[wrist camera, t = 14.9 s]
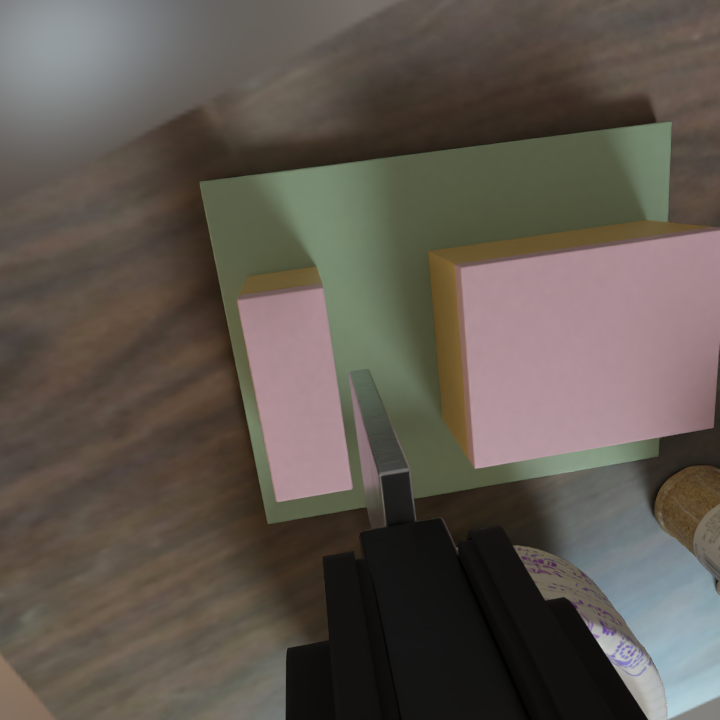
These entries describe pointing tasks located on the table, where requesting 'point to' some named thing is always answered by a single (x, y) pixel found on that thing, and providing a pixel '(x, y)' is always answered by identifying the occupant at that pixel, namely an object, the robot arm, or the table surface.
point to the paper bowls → (600, 626)
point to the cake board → (420, 273)
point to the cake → (577, 338)
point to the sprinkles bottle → (693, 512)
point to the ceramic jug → (718, 587)
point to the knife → (423, 589)
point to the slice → (295, 382)
